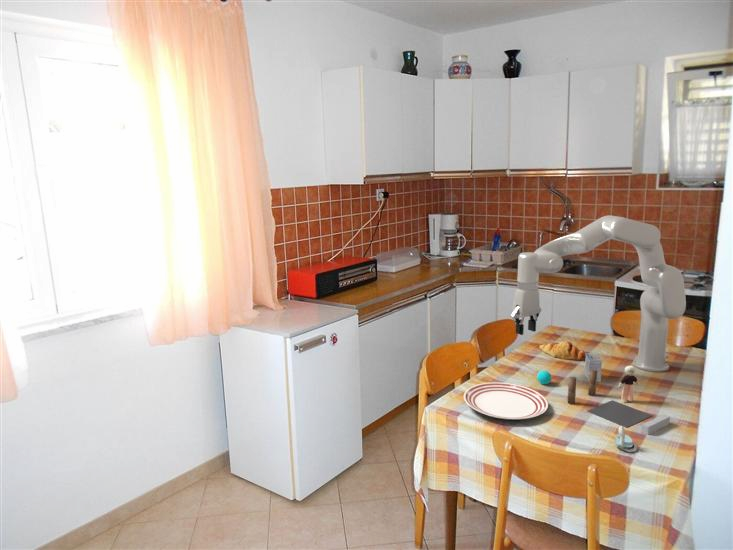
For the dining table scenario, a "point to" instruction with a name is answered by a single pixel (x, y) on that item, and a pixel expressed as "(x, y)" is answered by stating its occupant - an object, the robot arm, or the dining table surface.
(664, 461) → the dining table surface
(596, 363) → the medicine box
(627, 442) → the pacifier
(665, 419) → the wall
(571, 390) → the post far
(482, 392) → the dinner plate
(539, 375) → the ball
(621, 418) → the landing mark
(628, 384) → the grandmother figurine
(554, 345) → the croissant
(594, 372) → the post near arm
